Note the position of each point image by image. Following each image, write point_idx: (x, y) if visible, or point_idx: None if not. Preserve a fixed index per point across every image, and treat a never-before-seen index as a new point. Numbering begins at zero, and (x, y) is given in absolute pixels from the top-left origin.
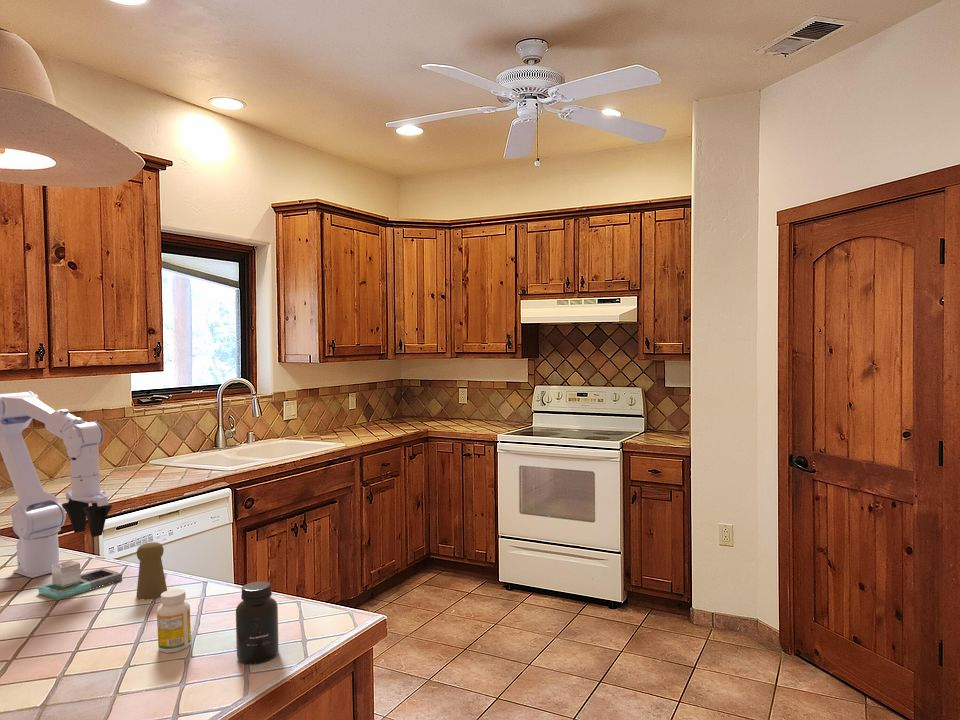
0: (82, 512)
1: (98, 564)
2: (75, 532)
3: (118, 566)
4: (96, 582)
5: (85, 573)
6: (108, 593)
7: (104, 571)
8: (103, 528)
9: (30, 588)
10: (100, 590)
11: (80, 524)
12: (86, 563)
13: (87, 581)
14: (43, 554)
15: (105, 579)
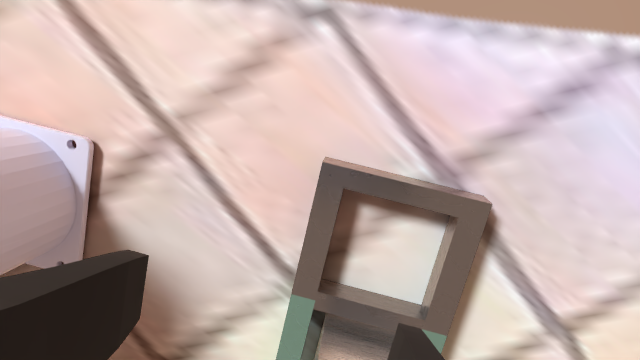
0: (9, 356)
1: (172, 45)
2: (135, 319)
3: (298, 41)
4: (454, 311)
5: (308, 243)
6: (553, 335)
7: (369, 194)
8: (441, 355)
9: (183, 350)
10: (488, 315)
11: (108, 313)
12: (102, 50)
13: (413, 322)
14: (5, 257)
15: (466, 275)
